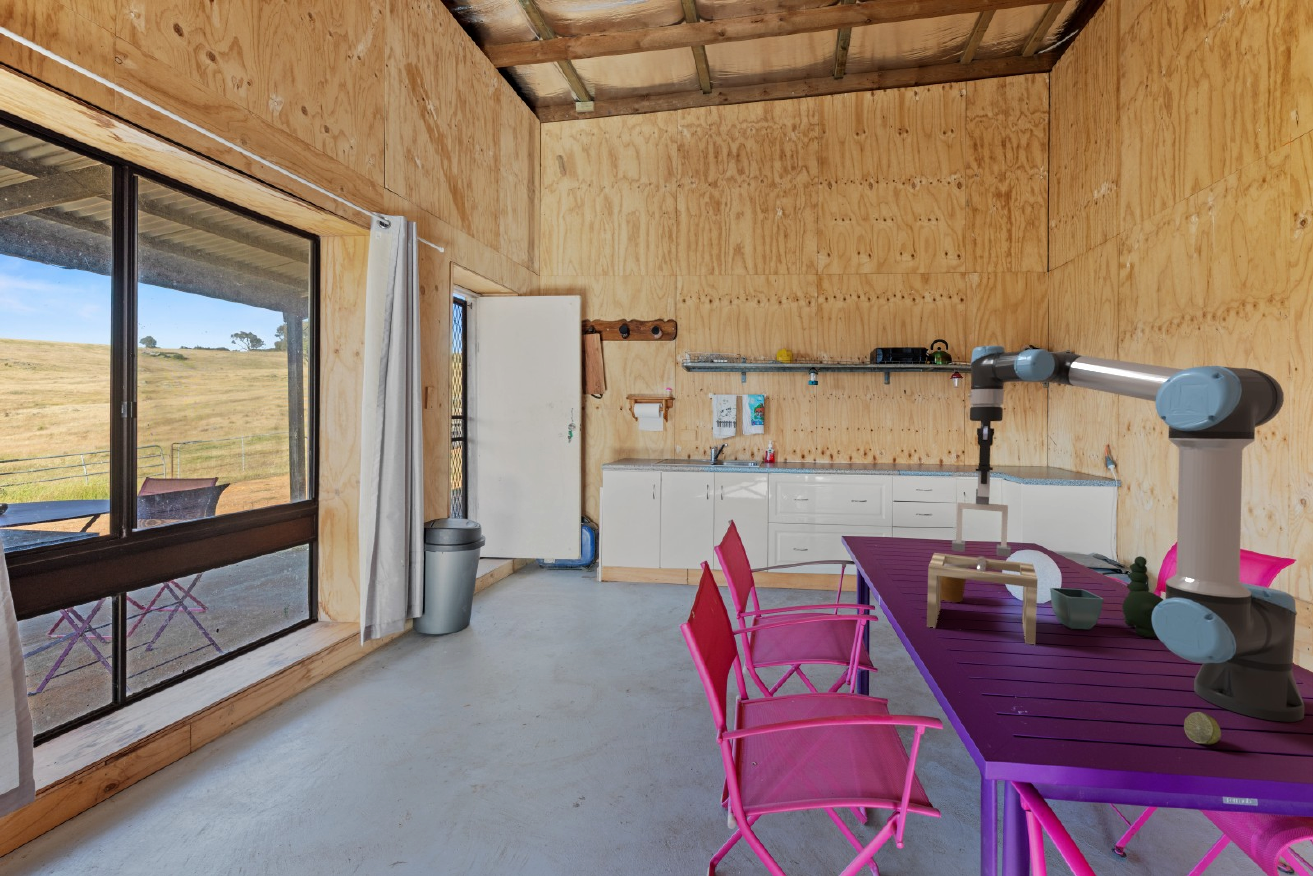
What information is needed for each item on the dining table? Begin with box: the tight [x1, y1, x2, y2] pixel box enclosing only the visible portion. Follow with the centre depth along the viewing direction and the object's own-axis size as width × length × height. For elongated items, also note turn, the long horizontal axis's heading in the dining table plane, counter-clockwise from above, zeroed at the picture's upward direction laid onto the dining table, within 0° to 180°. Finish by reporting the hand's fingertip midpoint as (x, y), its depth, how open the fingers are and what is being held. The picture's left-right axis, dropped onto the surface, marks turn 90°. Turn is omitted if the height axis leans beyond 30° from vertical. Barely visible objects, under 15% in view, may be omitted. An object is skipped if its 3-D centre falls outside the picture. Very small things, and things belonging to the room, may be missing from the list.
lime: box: [1183, 711, 1222, 745], centre depth 101 cm, size 4×5×5 cm
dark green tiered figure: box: [1121, 555, 1164, 639], centre depth 154 cm, size 9×19×25 cm
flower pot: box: [1049, 587, 1104, 630], centre depth 156 cm, size 9×9×9 cm
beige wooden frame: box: [926, 552, 1039, 646], centre depth 157 cm, size 18×24×17 cm
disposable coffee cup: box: [941, 563, 970, 603], centre depth 178 cm, size 10×10×12 cm
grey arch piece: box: [951, 488, 1012, 558], centre depth 156 cm, size 5×13×16 cm, turn 61°
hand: (983, 495), depth 155 cm, fingers closed on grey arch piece, 3 cm apart
